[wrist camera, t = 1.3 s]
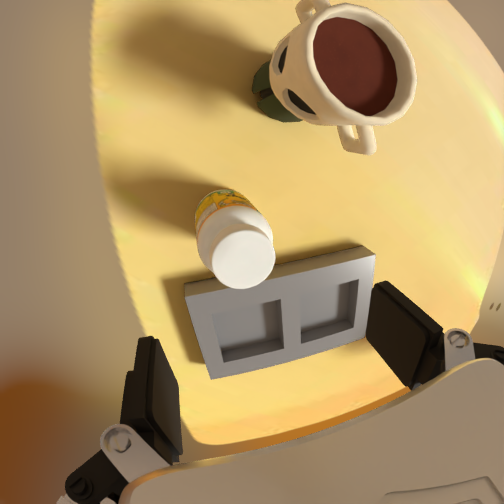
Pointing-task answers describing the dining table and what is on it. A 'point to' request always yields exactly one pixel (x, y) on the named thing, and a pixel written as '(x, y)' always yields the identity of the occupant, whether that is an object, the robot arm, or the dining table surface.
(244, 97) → the dining table surface
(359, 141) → the character mug
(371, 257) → the drink carrier
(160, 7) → the dining table surface
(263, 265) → the supplement bottle
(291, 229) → the dining table surface
